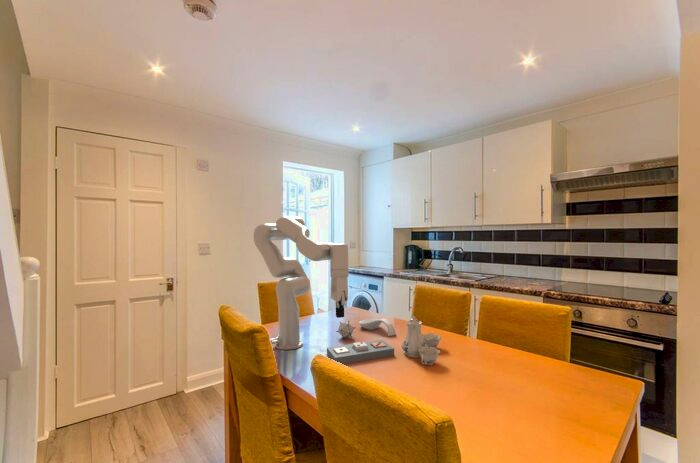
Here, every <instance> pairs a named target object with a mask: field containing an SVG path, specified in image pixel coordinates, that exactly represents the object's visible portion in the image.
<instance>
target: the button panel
mask: <svg viewBox="0 0 700 463" xmlns="http://www.w3.org/2000/svg"><path fill="white" fill-rule="evenodd" d="M363 342H364V341H363ZM375 342H382V343H384V344H385V345H386V347H382V348H374V347H373V346H371V343H375ZM364 343H366V344H367V345H368V350H362V351H355V350H354V349H353V343H349V344H344V345H337V346H331V347H330V346H329V347H326V355H327V357H328V358H329V359H330V358H331V359H333V360H335V361H337V362H340V363H342V364H341V365H347V364H351V363H357V362H358V363H359V362H364V361H370V360H376V359H382V358H388V357H393V356H395V347H393V346H391V344H388V343H387V342H386V341H384V340H383V339H377V340H372V341H365V342H364ZM341 347H345V348H346V349H347V350H348V351H349V353H343V354H336V353H335V352H334V349H335V348H341ZM331 359H330V360H331Z"/></svg>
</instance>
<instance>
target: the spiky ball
mask: <svg viewBox="0 0 700 463" xmlns="http://www.w3.org/2000/svg"><path fill="white" fill-rule="evenodd" d="M354 329H355V327H354V326H353V325H352V324H351V322H350V320H347V321H346V322H341V321H339V327H338V330H336V331H335V332H336V333H338V334H339V335H340V336H341V337H342V340H344V339H345V338H353V336H352V335H353V333H354Z"/></svg>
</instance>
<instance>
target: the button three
mask: <svg viewBox="0 0 700 463" xmlns="http://www.w3.org/2000/svg"><path fill="white" fill-rule="evenodd" d="M371 346H373V347H374V348H382V347H386V345H385V344H384V343H382V342H375V343H371Z"/></svg>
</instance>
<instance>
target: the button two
mask: <svg viewBox="0 0 700 463" xmlns="http://www.w3.org/2000/svg"><path fill="white" fill-rule="evenodd" d="M352 344H353V349H354V350H355V351H362V350H368V345H367V344H366V343H364V341H360V342H359V341H358V342H352Z"/></svg>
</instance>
